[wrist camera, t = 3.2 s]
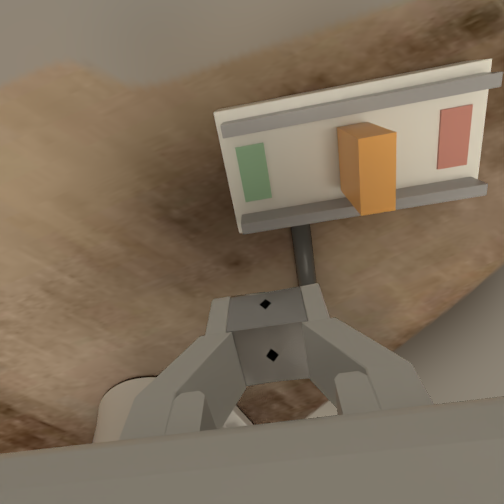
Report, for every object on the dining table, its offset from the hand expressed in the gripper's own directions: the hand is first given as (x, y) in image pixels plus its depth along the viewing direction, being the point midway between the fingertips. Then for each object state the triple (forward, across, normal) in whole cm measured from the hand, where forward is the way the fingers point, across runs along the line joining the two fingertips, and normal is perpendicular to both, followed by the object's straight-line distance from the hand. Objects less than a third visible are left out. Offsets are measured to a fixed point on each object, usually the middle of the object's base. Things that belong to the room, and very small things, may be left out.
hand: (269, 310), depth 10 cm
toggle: (+16, -6, 0) cm, 17 cm away
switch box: (+20, -6, +6) cm, 22 cm away
